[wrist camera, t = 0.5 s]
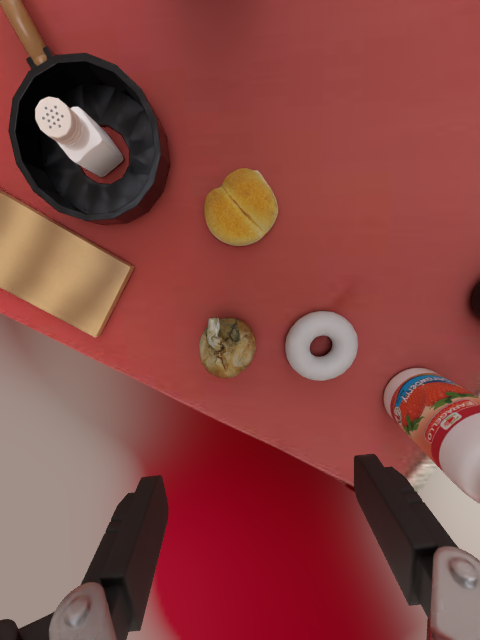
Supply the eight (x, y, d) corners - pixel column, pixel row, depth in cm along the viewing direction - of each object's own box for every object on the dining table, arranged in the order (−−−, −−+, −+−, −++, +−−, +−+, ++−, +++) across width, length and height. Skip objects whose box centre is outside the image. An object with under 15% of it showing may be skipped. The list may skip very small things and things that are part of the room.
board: (-56, 252, 35) (-68, 252, 34) (-28, 173, 33) (-40, 169, 32) (100, 334, 38) (95, 337, 37) (135, 266, 36) (130, 267, 35)
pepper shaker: (80, 151, 33) (19, 110, 24) (105, 130, 32) (53, 79, 23) (102, 180, 34) (52, 152, 24) (127, 160, 33) (85, 123, 24)
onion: (190, 350, 39) (178, 373, 31) (216, 302, 37) (211, 314, 30) (235, 373, 40) (235, 402, 32) (263, 328, 38) (270, 346, 31)
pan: (192, 188, 34) (186, 178, 30) (86, 245, 35) (66, 244, 31) (66, -66, 28) (38, -121, 24) (-55, 15, 30) (-101, -24, 26)
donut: (361, 317, 38) (294, 301, 38) (373, 323, 35) (300, 305, 34) (338, 380, 41) (274, 366, 40) (348, 391, 37) (278, 376, 36)
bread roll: (193, 210, 35) (187, 204, 31) (247, 161, 33) (248, 148, 30) (235, 261, 36) (234, 261, 32) (287, 215, 35) (294, 210, 31)
